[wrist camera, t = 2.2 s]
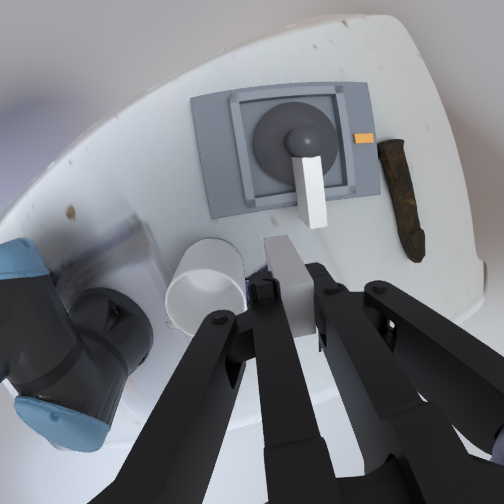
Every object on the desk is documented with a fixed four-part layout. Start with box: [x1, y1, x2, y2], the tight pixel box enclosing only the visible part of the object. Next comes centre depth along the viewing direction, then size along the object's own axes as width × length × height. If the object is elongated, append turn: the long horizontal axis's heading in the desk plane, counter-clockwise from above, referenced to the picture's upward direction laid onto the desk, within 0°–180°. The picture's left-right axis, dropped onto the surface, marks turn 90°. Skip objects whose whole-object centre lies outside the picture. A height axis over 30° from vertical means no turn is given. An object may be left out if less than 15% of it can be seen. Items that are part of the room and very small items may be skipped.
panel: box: [190, 82, 381, 219], centre depth 31 cm, size 22×15×4 cm
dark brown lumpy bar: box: [377, 139, 425, 263], centre depth 34 cm, size 19×4×5 cm, turn 20°
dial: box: [253, 102, 338, 229], centre depth 28 cm, size 13×10×7 cm
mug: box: [165, 239, 247, 337], centre depth 33 cm, size 9×12×11 cm
